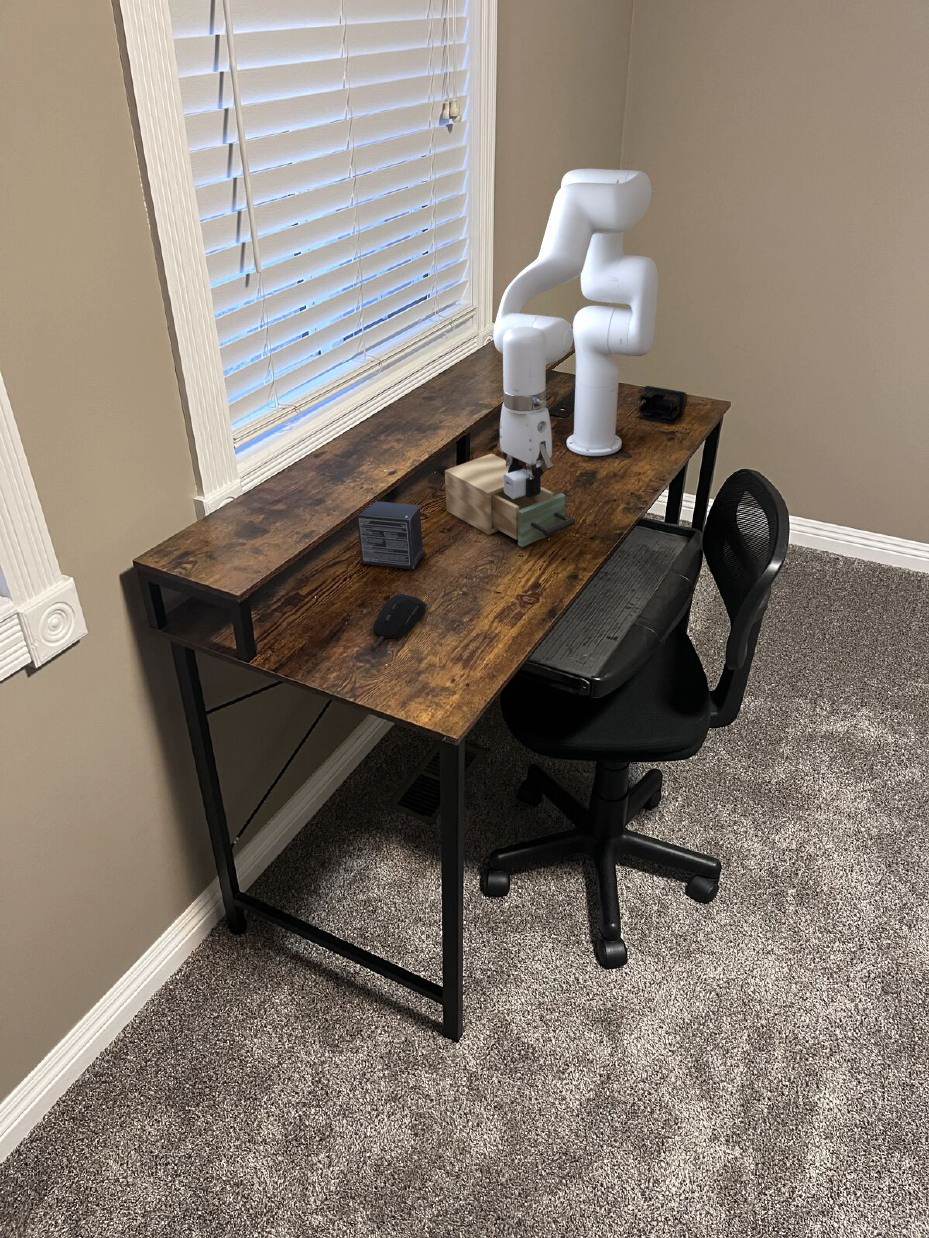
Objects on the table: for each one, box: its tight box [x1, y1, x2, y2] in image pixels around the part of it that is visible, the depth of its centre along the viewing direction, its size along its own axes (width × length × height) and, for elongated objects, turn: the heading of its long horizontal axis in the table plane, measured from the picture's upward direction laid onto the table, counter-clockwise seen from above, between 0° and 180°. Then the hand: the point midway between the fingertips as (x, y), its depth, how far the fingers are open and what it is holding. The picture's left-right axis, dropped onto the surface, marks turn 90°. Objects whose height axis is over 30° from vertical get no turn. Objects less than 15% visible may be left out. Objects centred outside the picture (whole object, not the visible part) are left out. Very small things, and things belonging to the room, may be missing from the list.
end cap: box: [638, 385, 688, 425], centre depth 225 cm, size 10×7×7 cm
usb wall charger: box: [503, 468, 544, 499], centre depth 175 cm, size 4×7×4 cm, turn 119°
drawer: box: [491, 486, 576, 548], centre depth 177 cm, size 17×11×7 cm, turn 38°
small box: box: [356, 500, 424, 570], centre depth 171 cm, size 11×6×10 cm, turn 74°
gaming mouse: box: [372, 593, 426, 650], centre depth 154 cm, size 6×15×4 cm, turn 155°
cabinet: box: [444, 453, 508, 536], centre depth 185 cm, size 14×12×9 cm
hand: (524, 490), depth 176 cm, fingers closed on usb wall charger, 4 cm apart
